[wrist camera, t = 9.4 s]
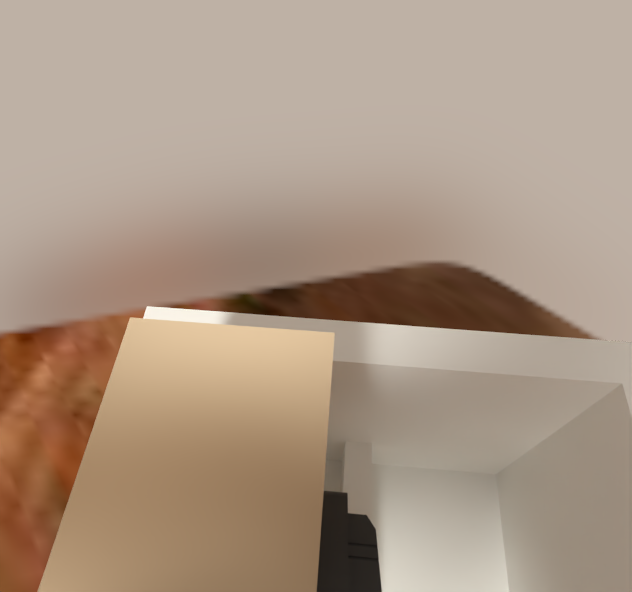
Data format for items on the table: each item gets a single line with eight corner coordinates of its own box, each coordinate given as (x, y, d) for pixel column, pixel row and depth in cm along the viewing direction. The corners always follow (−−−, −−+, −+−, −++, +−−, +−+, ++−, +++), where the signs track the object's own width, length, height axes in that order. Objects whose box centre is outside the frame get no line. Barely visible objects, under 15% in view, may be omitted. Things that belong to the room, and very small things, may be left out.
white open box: (553, 762, 16) (865, 968, 7) (129, 714, 17) (-93, 845, 8) (512, 454, 22) (657, 344, 13) (194, 427, 23) (109, 303, 13)
